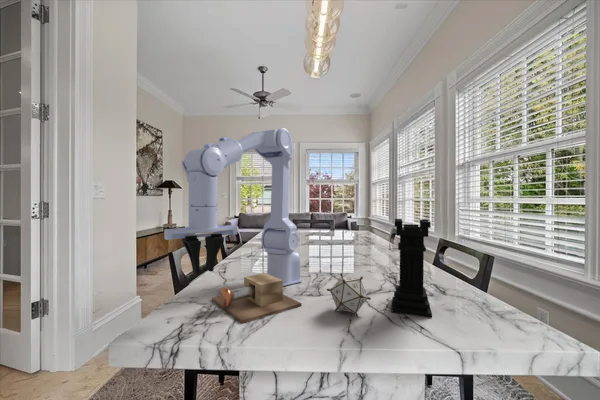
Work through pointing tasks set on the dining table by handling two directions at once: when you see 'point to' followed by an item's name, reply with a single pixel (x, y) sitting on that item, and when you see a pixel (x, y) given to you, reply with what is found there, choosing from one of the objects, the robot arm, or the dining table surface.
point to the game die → (348, 294)
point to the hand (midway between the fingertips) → (203, 271)
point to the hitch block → (260, 299)
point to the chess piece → (411, 270)
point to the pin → (235, 294)
